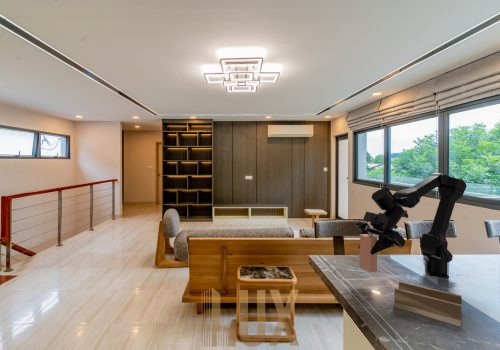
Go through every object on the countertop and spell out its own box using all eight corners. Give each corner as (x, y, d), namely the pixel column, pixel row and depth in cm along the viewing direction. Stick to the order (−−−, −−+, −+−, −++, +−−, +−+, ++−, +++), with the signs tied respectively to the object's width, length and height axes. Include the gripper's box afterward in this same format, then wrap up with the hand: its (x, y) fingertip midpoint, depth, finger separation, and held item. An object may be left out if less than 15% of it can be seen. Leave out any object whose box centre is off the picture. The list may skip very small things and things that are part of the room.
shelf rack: (399, 294, 88) (400, 279, 88) (461, 310, 78) (461, 294, 78) (393, 306, 80) (393, 290, 80) (460, 326, 70) (461, 308, 70)
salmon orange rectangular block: (365, 265, 98) (366, 233, 98) (376, 271, 93) (377, 237, 93) (359, 266, 98) (359, 234, 97) (370, 272, 92) (370, 238, 92)
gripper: (359, 200, 105) (335, 230, 102) (399, 207, 87) (371, 243, 84) (375, 219, 107) (352, 249, 104) (417, 229, 90) (390, 265, 87)
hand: (365, 251), depth 95 cm, fingers closed on salmon orange rectangular block, 5 cm apart
